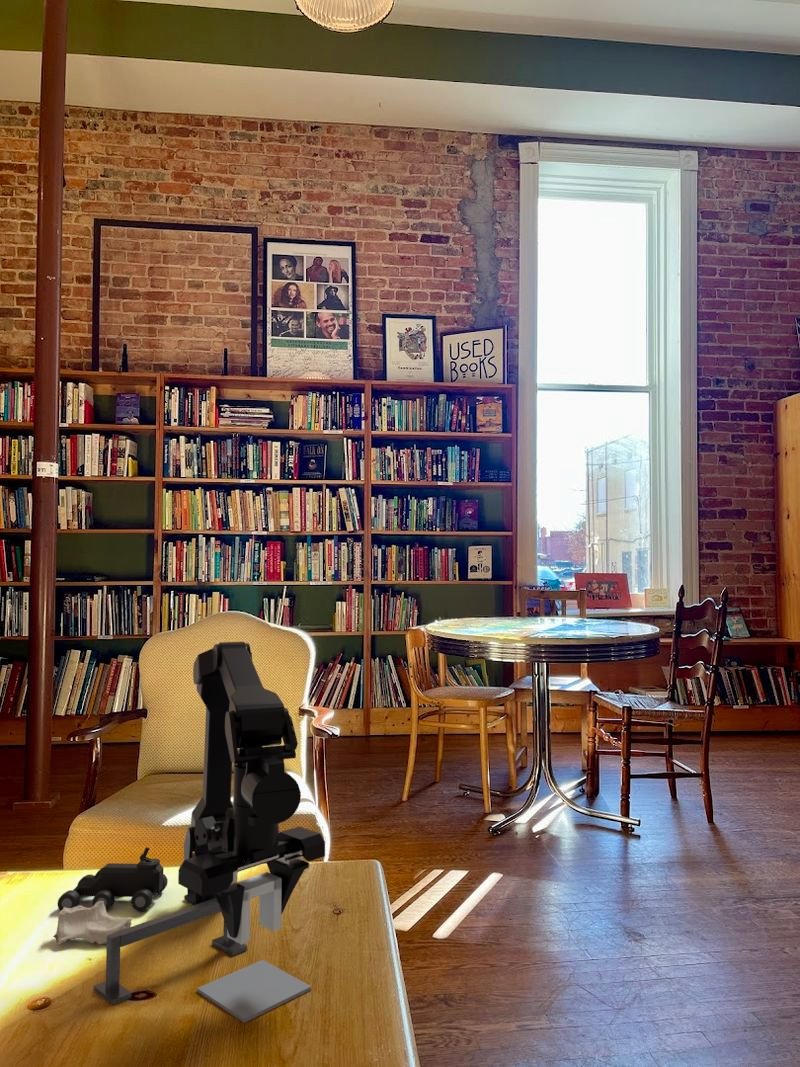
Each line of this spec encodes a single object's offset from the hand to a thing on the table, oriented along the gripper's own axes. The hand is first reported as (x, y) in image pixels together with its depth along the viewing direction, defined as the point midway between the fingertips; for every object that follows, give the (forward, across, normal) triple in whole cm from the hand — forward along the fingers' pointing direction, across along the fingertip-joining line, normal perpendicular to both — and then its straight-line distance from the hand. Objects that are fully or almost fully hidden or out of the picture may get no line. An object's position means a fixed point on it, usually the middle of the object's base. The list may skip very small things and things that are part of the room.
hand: (254, 928), depth 96 cm
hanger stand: (+7, +4, -12) cm, 15 cm away
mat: (+7, 0, 0) cm, 7 cm away
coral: (+8, +8, -28) cm, 30 cm away
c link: (0, 0, 0) cm, 0 cm away
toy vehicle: (+8, -1, -39) cm, 40 cm away
